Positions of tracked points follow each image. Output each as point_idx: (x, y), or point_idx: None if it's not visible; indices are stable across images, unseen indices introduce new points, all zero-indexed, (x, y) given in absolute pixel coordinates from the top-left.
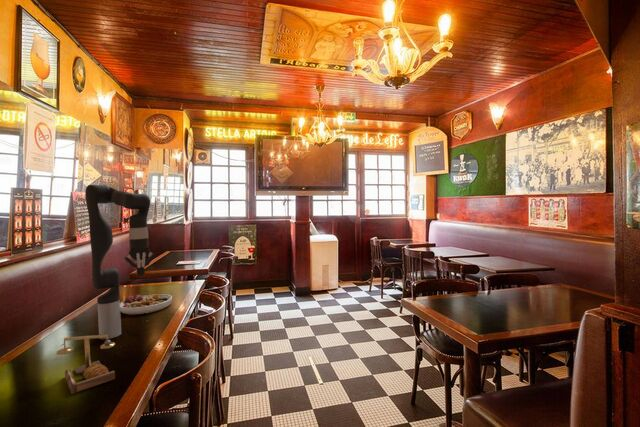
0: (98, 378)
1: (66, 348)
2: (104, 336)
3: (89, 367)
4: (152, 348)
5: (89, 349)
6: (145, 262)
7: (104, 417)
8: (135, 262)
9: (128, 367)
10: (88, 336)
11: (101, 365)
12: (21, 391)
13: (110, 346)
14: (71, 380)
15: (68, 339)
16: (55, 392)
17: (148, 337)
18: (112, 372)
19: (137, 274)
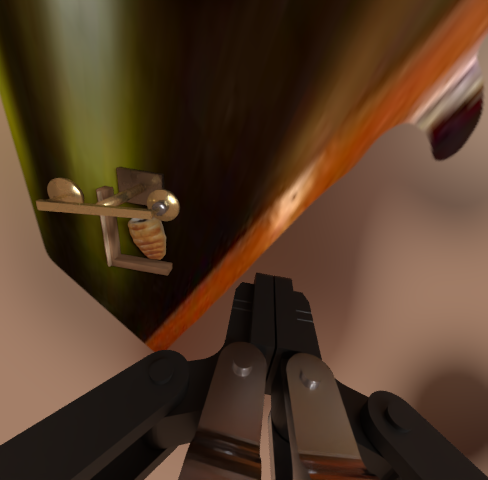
0: (144, 270)
1: (66, 186)
2: (143, 217)
3: (133, 227)
4: (270, 206)
5: (122, 203)
6: (390, 458)
7: (143, 336)
8: (191, 444)
9: (199, 249)
10: (100, 213)
11: (153, 234)
12: (43, 176)
13: (166, 220)
14: (106, 251)
15: (50, 210)
16: (94, 232)
17: (308, 114)
18: (164, 274)
19: (240, 289)
